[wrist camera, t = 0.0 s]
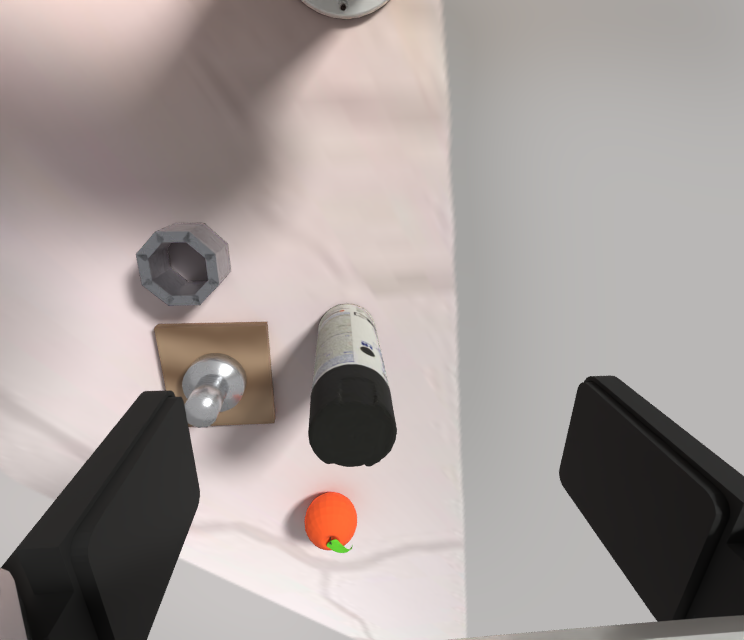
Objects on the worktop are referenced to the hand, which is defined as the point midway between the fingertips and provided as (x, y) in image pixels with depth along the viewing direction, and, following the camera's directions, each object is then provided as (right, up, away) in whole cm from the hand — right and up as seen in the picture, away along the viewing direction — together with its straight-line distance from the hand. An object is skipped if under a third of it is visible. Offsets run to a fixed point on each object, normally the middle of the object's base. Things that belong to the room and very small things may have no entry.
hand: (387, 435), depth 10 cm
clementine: (-6, -23, +48) cm, 54 cm away
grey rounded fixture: (-18, -4, +38) cm, 43 cm away
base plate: (-18, -4, +39) cm, 44 cm away
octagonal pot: (-19, +9, +34) cm, 40 cm away
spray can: (-3, +2, +39) cm, 39 cm away
